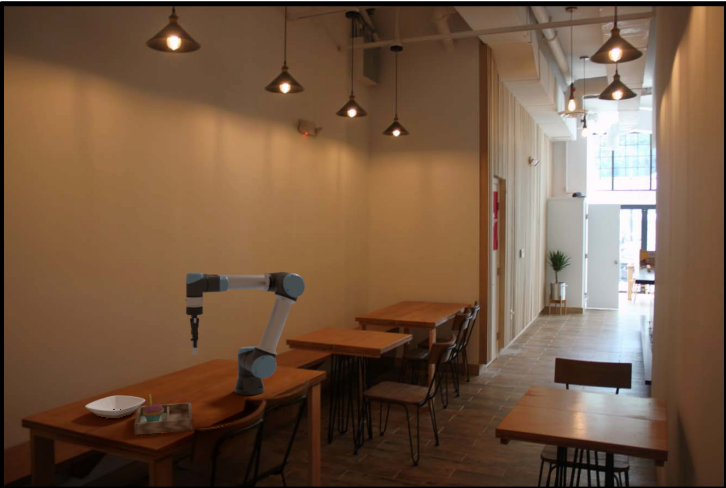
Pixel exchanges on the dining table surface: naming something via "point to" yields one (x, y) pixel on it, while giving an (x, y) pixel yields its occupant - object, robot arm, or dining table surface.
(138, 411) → the crate
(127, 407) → the bowl
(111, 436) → the dining table surface
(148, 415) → the cupcake
